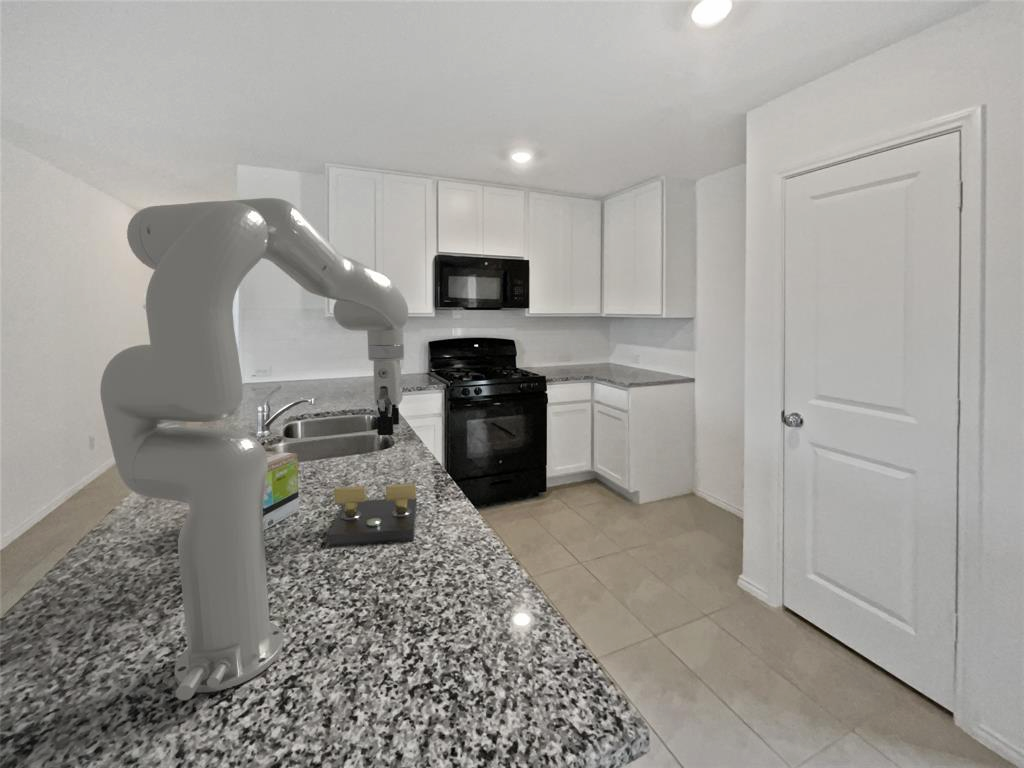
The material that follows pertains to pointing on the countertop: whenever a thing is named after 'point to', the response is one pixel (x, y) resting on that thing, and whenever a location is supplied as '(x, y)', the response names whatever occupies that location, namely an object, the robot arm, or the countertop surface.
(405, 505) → the knob
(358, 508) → the base
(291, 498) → the tea box
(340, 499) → the knob
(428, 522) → the countertop surface
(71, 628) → the countertop surface
